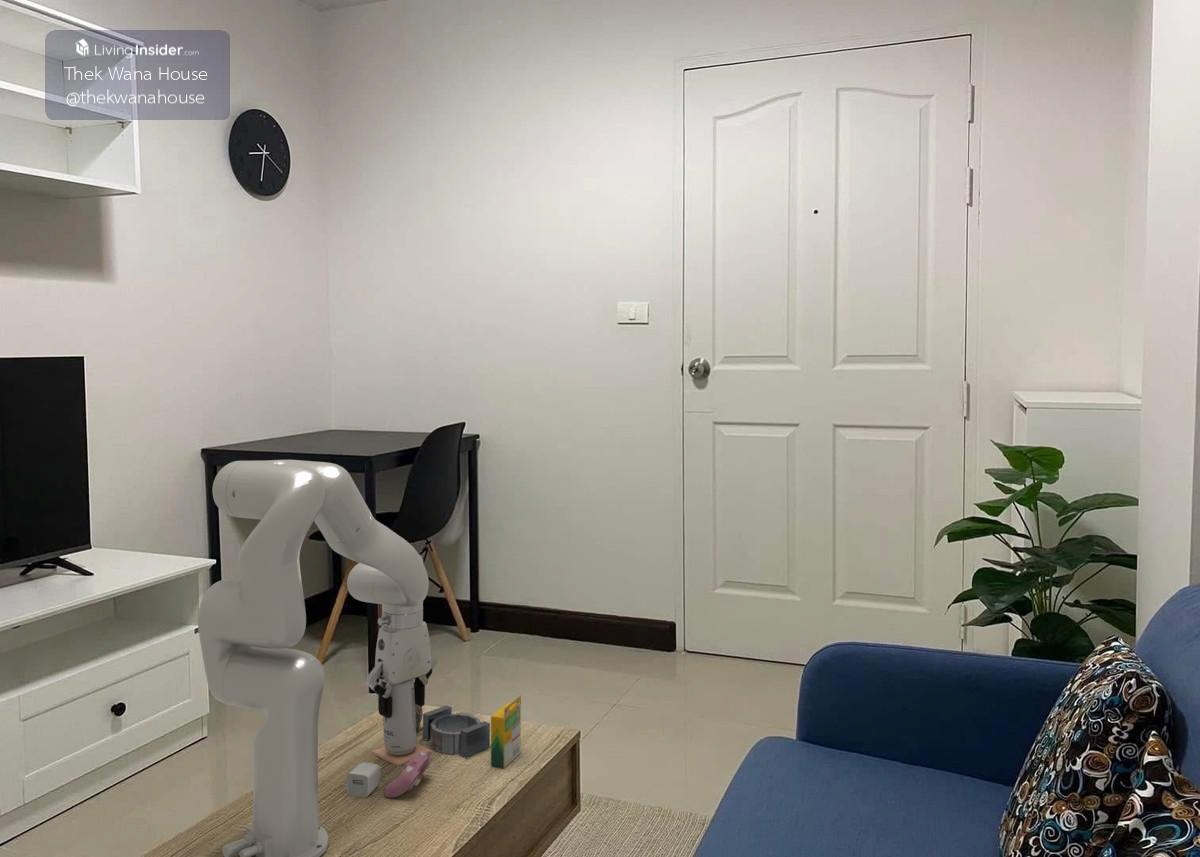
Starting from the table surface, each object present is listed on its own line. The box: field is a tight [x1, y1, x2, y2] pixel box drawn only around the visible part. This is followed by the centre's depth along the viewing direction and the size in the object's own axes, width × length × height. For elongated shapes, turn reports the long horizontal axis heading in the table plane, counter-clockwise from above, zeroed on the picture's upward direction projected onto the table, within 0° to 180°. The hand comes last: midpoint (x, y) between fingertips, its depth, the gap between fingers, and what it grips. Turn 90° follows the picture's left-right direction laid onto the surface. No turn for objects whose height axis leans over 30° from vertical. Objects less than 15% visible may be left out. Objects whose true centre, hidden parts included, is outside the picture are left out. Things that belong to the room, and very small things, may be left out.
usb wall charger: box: [346, 762, 382, 798], centre depth 168 cm, size 4×7×4 cm, turn 167°
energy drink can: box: [382, 679, 418, 755], centre depth 181 cm, size 6×6×15 cm
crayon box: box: [490, 695, 522, 770], centre depth 180 cm, size 7×3×12 cm, turn 160°
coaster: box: [371, 743, 433, 768], centre depth 182 cm, size 8×8×1 cm
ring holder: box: [422, 705, 491, 759], centre depth 186 cm, size 13×10×5 cm
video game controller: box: [383, 751, 434, 799], centre depth 168 cm, size 10×5×7 cm, turn 169°
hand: (401, 709), depth 181 cm, fingers open, 7 cm apart
